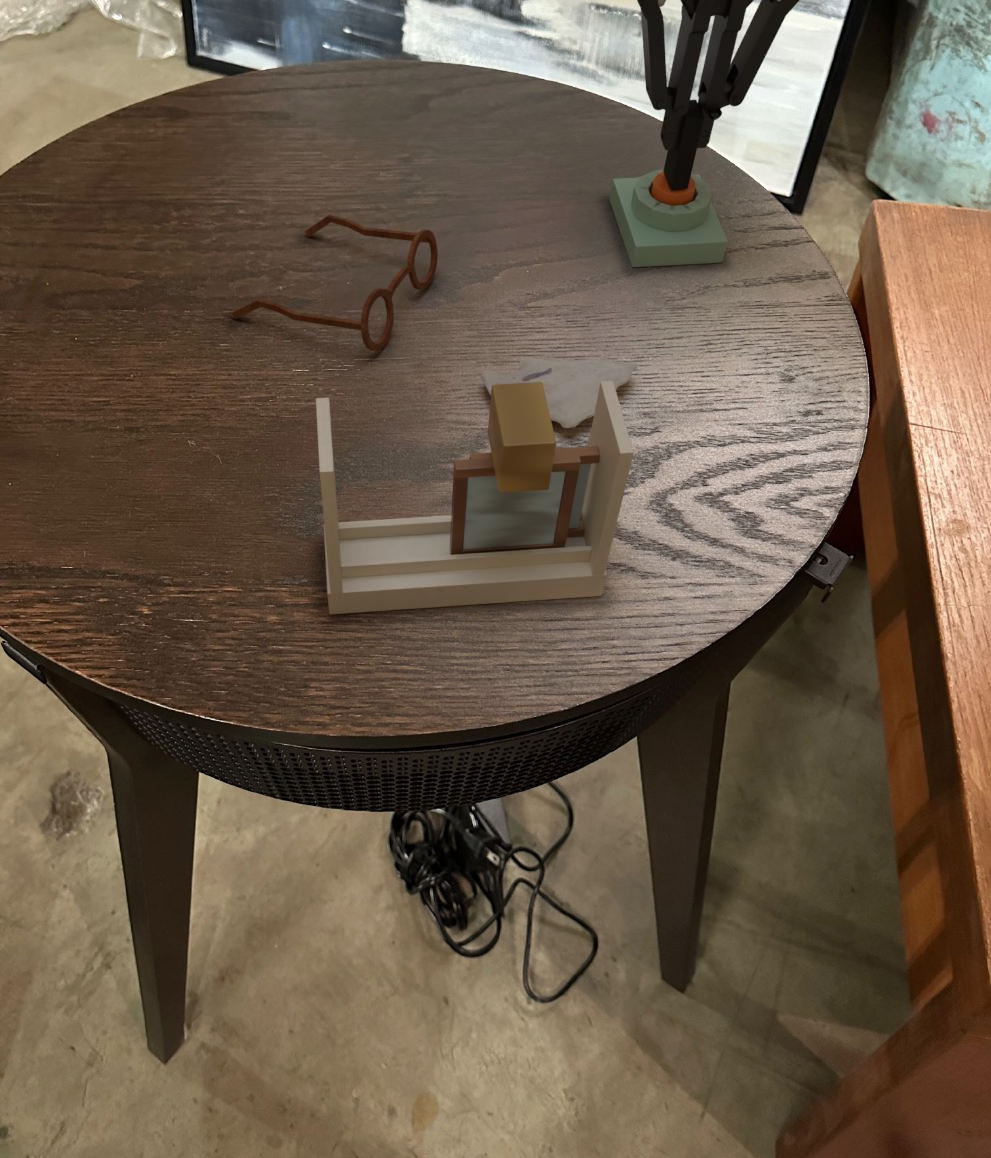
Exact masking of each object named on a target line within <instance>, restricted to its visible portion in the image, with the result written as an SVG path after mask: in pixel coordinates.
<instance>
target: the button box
mask: <svg viewBox="0 0 991 1158" xmlns="http://www.w3.org/2000/svg"><path fill="white" fill-rule="evenodd" d="M663 171H664V169H655V170H652V171H649V172H648V173H646V174H644V175H641V176H640V177H623V178H622V177H621V178H612V182H611V189H610V194H609V202H610V205H611V208H612V211H613V215H614V217H615V220H616V224H617V227H618V230H619V233H620V236H621V239H622V241H623V245H624V248H625V251H626V254H627V257H628V259H629V263H630V266H631V268H645V267H646V268H647V267H664V266H665V267H666V266H685V265H702V264H703V265H704V264H720V263H721V264H722V263H723V261H724V259H725V254H726V250H727V247H728V244H729V241H728V238H727V236H726V234H725V231H724V228H723V227H722V226H723V225H722V224H721V222H720V219H719V217H718V214H717V211H716V210H715V207H714V205H713V203H712V198H713V194H712V192H711V189H710V187H709V185H708V183H707V182H706V181H704V180H703V179H702V177H701V175H700V174H694V173H691V177H692V178H693V179H694V180H695V183H696V188H695V192H694V196H693V200H692V202H690V203H688V204H686V205H677V206H671V205H667V204H664V203H660V202H658V201H657V200H656V199H654V198H653V197H651V191H652V186H653V181H654V178H655V177H656V176H657V175H658V174H659V173H662V172H663Z"/></svg>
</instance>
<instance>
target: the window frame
mask: <svg viewBox="0 0 991 1158" xmlns="http://www.w3.org/2000/svg"><path fill="white" fill-rule="evenodd" d="M315 410H316V411H315V412H316V431H317V444H318V445H317V448H318V466H319V467H318V469H319V470H318V471H319V481H320V482H319V483H320V490H321V491H320V493H321V504H322V513H323V514H322V515H323V535H324V536H323V537H324V538H323V539H324V554H325V556H324V557H325V575H326V577H325V578H326V593H327V595H326V596H327V603H328V614H329V615H342V614H355V613H357V614H358V613H373V612H386V611H399V610H411V609H412V610H415V609H429V608H444V607H458V606H473V605H486V604H487V605H489V604H503V603H515V602H516V603H517V602H531V601H532V602H533V601H545V600H561V599H574V598H575V599H576V598H589V597H601V596H602V597H603V593H604V590H605V584H606V581H607V577H608V572H607V565H608V561H609V556H610V554H611V553H610V552H611V549H612V544H613V540H614V536H615V531H616V528H617V523H618V518H619V515H620V511H621V507H622V502H623V498H624V495H625V490H626V486H627V483H628V478H629V474H630V470H631V466H632V461H633V457H634V453H635V452H634V448H633V445H632V441H631V438H630V435H629V432H628V427H627V425H626V420H625V417H624V413H623V411H622V407H621V403H620V400H619V396H618V393H617V389H615V386H614V382H613V381H601V382H600V387H599V392H598V397H597V403H596V408H595V413H594V416H593V417H592V418H593V419H592V423H591V429H590V434H589V438H588V445H587V446H574V447H573V446H572V447H559V448H557V447H555V454H565V453H579V456H580V460H581V464H580V469H579V474H578V480H577V485H576V490H575V496H574V501H573V506H572V512H571V517H570V522H569V528H568V533H567V538H566V543H565V547H562V548H547V549H532V550H517V551H502V552H487V553H472V554H457V555H450V551H449V548H450V530H451V514H448V515H446V514H445V515H431V516H416V517H403V518H402V517H401V518H399V517H398V518H386V519H384V518H383V519H371V520H370V519H369V520H354V521H353V520H352V521H339V513H338V501H337V500H338V499H337V485H336V484H337V483H336V472H335V459H334V445H333V444H334V443H333V433H332V432H333V431H332V418H331V404H330V397H316V398H315ZM485 458H492V454H491V452H477V453H476V452H475V453H470V454H469V459H485Z"/></svg>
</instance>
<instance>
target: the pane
mask: <svg viewBox="0 0 991 1158" xmlns="http://www.w3.org/2000/svg"><path fill="white" fill-rule="evenodd" d="M488 412H489V416H488V423H487V424H488V425H487V436H488V442H489V448H490V453H491V454H492V458H485V459H470V458H469V459H458V460H457V459H455V460H454V461H453V473H452V475H453V476H452V492H451V493H452V494H451V495H452V496H451V512H450V515H451V530H450V548H449V551H450V555H457V554H472V553H487V552H502V551H517V550H532V549H547V548H562V547H565V543H566V538H567V533H568V528H569V522H570V517H571V512H572V506H573V501H574V496H575V490H576V485H577V480H578V474H579V469H580V464H581V460H580V456H579V453H565V454H555V448H557V440H556V435H555V431H554V427H553V423H552V422H553V421H552V420H551V418H550V414H549V409H548V405H547V401H546V396H545V392H544V388H543V383H542V382H532V383H515V384H498V385H492V389H491V396H490V401H489V411H488Z"/></svg>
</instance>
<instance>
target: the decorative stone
mask: <svg viewBox="0 0 991 1158" xmlns="http://www.w3.org/2000/svg"><path fill="white" fill-rule="evenodd" d="M518 362H519V365H518V366H519V367H518V370H516V371H514V372H510V373H501V372H498V371H495V370H492V369H486V370H484V371H482V373H481V375H480V378H481V381H482V383H483V384H484V386H485V388H486V390H487V392H488V394H489V396H490V397H491V389H492V385H498V384H515V383H532V382H542V383H543V388H544V392H545V396H546V401H547V405H548V409H549V414H550V418H551V422H556V423H558V424H560V425H561V427H562V428H564V429H571V428H576V427H577V426H578V425H580V424H581V423H582V422H584V421H585V420H586V419H590V418H594V413H595V408H596V403H597V397H598V392H599V387H600V382H601V381H613V382H614V386H615V389H616V390H617V389H618V388H619V387H621V386H623V385H626V384H627V383H628V382H630V380H631V379H632V376H633V373H634V372H635V371H636V370H637V369H638V363H636V362H621V361H617V360H608V359H584V360H583V359H582V360H576V359H575V360H573V359H568V358H567V359H566V358H559V359H540V358H538V357H534V356H525V357H523V358H522V359H520V360H519V361H518Z"/></svg>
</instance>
